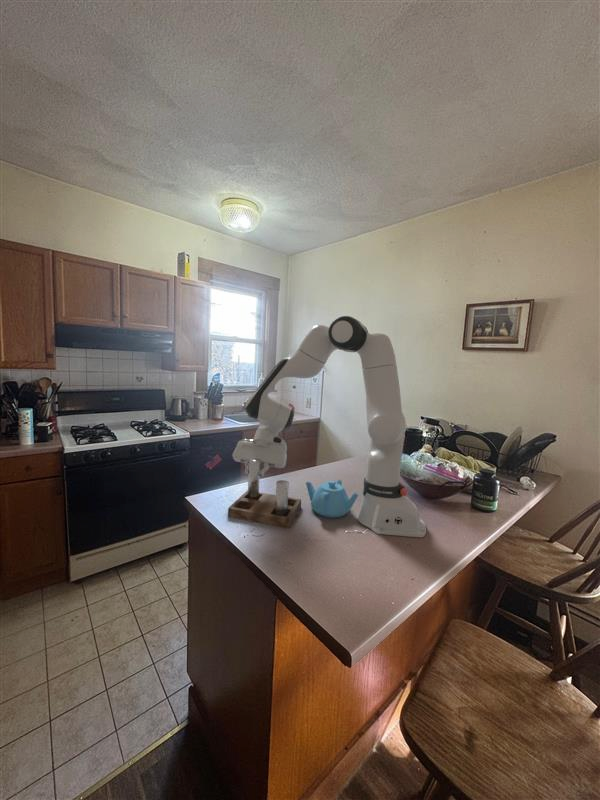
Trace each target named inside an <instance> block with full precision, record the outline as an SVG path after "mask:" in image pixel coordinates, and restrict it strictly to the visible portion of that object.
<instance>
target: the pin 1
mask: <svg viewBox="0 0 600 800" xmlns="http://www.w3.org/2000/svg"><path fill="white" fill-rule="evenodd" d="M260 463H261V460H260V459H256V458H253V459H250V460H249V466H248V468H249V474H248V479H247V480H248V481H247V490H248V496H249V497H257V496H258V495H259V492H260V479H261V478H260V477H261V476H259V475H258V474H259V470H261V465H260Z"/></svg>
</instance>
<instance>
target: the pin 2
mask: <svg viewBox="0 0 600 800" xmlns="http://www.w3.org/2000/svg"><path fill="white" fill-rule="evenodd" d="M275 485H276V487H275V495H276V500H275V515H279V516H285V517H287V504H288V497H289V486H290V483H289V481H288V480H283V479H280V480H277V481H276V484H275Z"/></svg>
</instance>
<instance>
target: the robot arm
mask: <svg viewBox="0 0 600 800" xmlns="http://www.w3.org/2000/svg"><path fill="white" fill-rule="evenodd" d="M336 350H340V351H343V352H346V353H357V354H358V355H359V357H360V360H361V369H362V376H363V382H364V391H365V407H366V408H365V409H366V419H367V420H366V422H367V432H368V435H369V437H370V441H369V448H368V453H367V459H366V471H365V477H364V479H363V484H362V485H363V486H362V501H361V504H360V508H359V510H358V513H357V516H356V519H357V520H358V522H359V523H361V525H363V526H365V527H366V528H369V529H370V530H372V532H374V533H375V534H377V535H387V536H397V537H398V536H400V537H410V538H412V537H413V538H423V537H425V536H426V535H427V527H426V523H425V522H424V520H423V519H422V518H421V517H420V511H419V509H418V507H417V505H416V504H415V503H414V502H413V501H412V500H411V499H410V498H409V497H408V496H407V495H408V491H407V489H406V487H405V486H404V483H403V482H400V478H401V477H400V476H401V475H400V474H401V468H402V467H401V465H402V459H403V458H402V457H403V449H404V441H405V432H406V417H405V415H404V413H403V410H402V401H401V400H402V399H401V388H400V381H399V373H398V366H397V359H396V355H395V351H394V348H393V344H392V341H391V339H390V337H389V336H388V335H386V334H384V333H379V332H378V333H377V332H376V333H370V332H369V331H368V329H367V327H366V326H365V325H364V324H363V323H362V322H361V321H360V320H358V319H356V318H355V317H352V316H350V315H343V316H339V317H337V318H335V319H334V320H333V321H332V322H331V323H330V325H329V327H328V326H326V325H323V324H317V325H314V326H313V327H312V328H311V329H310V330H309V331H308V333H307V334H306V335H305V337H304V339H303V340H302V341H301V343H300V345H299V346H298V348H297V350H296V351H295V352H294V353H293V354H291V356H289V357H283V358H282V359H280V361H279V362H277V364H276V365H275V366H274V367H273V368H272V369H271V370H270V372H269V374H268V375H267V376H266V377H265V379H264V380H263V381H262V383H261V384H260V385H259V386H258V388H256V390H255V391H254V392H253V393H252V394H251V395H250V396H249V397H248V398H247V400H246V402H245V406H244V410H245V412H246V414H247V416H248V418H251V419H253V420H256V421H257V420H258V421H259V423H258V428H257V429H256V431H255V434H254V437H253V439H246V438H242V439H240V440H239V441H238V442H237V444H236V447H235V449H234V451H233V452H232V454H231V456H232V459H233V460H234V461H235V462H238V463H243V464H244V467H245V469H244V471H243V472H244V474H246V475H249V460H250V459H253V458H256V459H260V460H261V463H260V466H264V467H263V468H262V469H260V470H259V474H258V475H259V476H260V477H264V475H265V473H266V472H267V471H268V470H269V469H270V467H272V468H276V469H283V468H285V467H286V464H287V459H288V458H287V457H288V454H287V450H288V446H287V443H286V440H285V439H284V438H281V437H279V433H282V432H285V431H286V430H289V429H290V427H291V426H292V423H293V421H294V418H295V413H294V410H293V408H292V406H289V404H286V403H284V402H282V401H279V400H277V399H275V398H273V397H271V396H269V394H270V392H271V391H272V390H273V389H274V387H275V386H276V385H277V384H278V382H279V381H281V380H282V379H285V378H295V379H311V378H314V377H316V376H317V375H319V373H320V372H321V371H322V370H323V368H324V367H325V364H326V363H327V361H328V360H329V357H330V356H331V355H332V353H333V352H334V351H336Z"/></svg>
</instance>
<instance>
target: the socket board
mask: <svg viewBox="0 0 600 800" xmlns="http://www.w3.org/2000/svg"><path fill="white" fill-rule="evenodd" d="M275 500H276V494H271V493H266V492H260V491H259V495H258V496H257V497H249V496H248V489H247V490H246V491H245V492H244V493H243V494H241V496H240V497H238V498H237V499H236V500H235V501H234V502H233V503H232V504H231V505H230V506H229V507H228V508H227V518H231V519H232V518H233V519H238V520H239V519H240V520H242V521H248V522H253V523H258V524H265V525H270V526H274V527H280V528H285V529H290V527H291V525H292V524H293V521H294V519H295V518H296V516H297V515H298V513H299V511H300V509H301V508H302V499H301V498H295V497H289V496H288V504H287V517H285V516H279V515H275Z"/></svg>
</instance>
